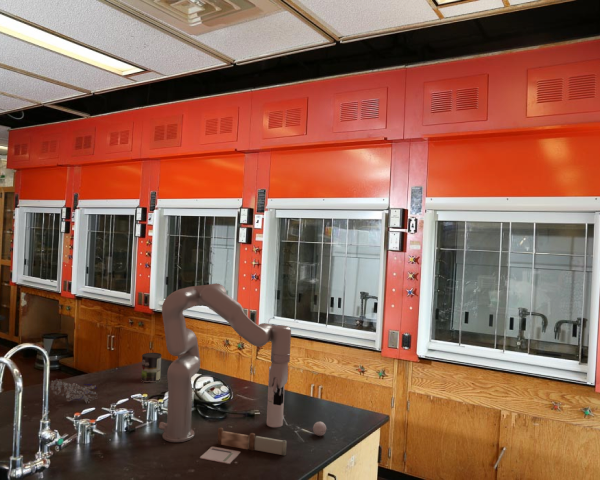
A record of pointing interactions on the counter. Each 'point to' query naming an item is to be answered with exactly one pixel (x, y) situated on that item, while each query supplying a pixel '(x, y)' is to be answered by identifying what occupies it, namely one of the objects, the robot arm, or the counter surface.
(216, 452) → the card
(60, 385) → the dark piece
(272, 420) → the cylindrical container
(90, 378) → the counter surface
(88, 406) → the counter surface
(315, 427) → the pinkish brown egg
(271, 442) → the cream flat slab
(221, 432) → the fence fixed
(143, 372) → the coffee can
